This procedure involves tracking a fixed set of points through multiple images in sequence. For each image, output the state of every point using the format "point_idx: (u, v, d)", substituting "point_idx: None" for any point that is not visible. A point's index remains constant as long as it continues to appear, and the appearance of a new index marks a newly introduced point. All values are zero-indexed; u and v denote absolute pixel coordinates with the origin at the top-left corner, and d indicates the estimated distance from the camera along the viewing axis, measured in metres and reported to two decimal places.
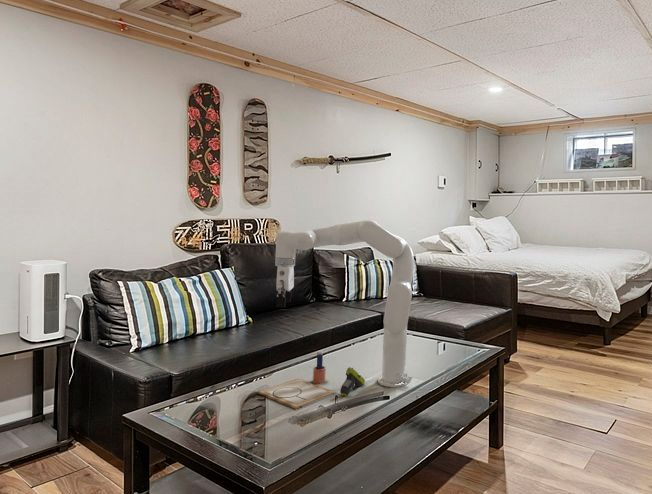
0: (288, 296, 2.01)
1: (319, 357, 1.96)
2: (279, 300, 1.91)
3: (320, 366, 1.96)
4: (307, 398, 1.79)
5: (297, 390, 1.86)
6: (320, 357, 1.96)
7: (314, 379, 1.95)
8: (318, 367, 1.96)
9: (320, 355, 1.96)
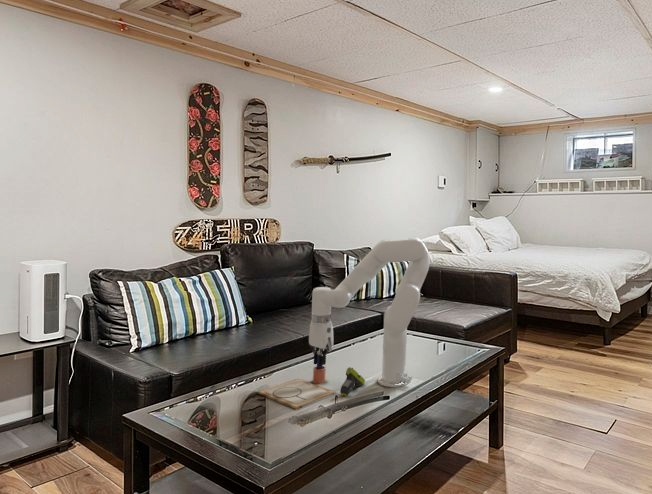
0: None
1: None
2: (323, 358, 1.96)
3: (320, 366, 1.96)
4: (307, 398, 1.79)
5: (297, 390, 1.86)
6: None
7: (314, 379, 1.95)
8: (318, 367, 1.96)
9: None
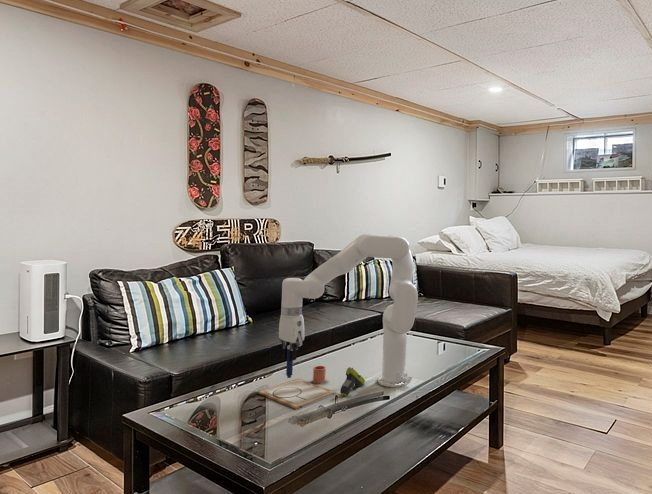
0: None
1: None
2: (293, 353, 1.84)
3: (290, 361, 1.85)
4: (307, 398, 1.79)
5: (297, 390, 1.86)
6: None
7: (314, 379, 1.95)
8: (288, 363, 1.85)
9: None
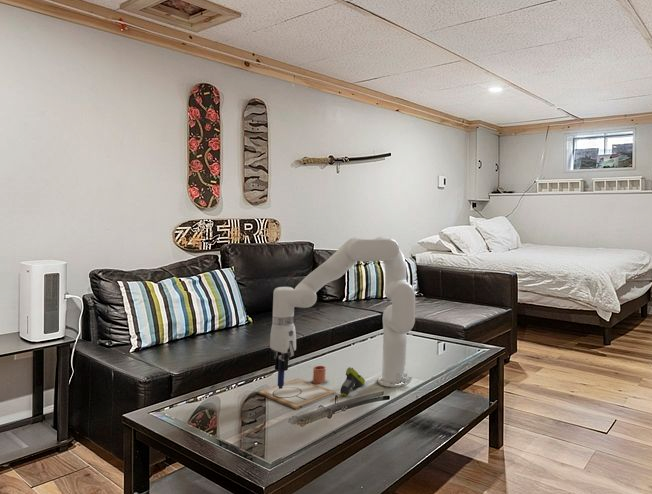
0: None
1: None
2: (284, 364, 1.81)
3: (282, 372, 1.82)
4: (307, 398, 1.79)
5: (297, 390, 1.86)
6: None
7: (314, 379, 1.95)
8: (279, 373, 1.82)
9: None
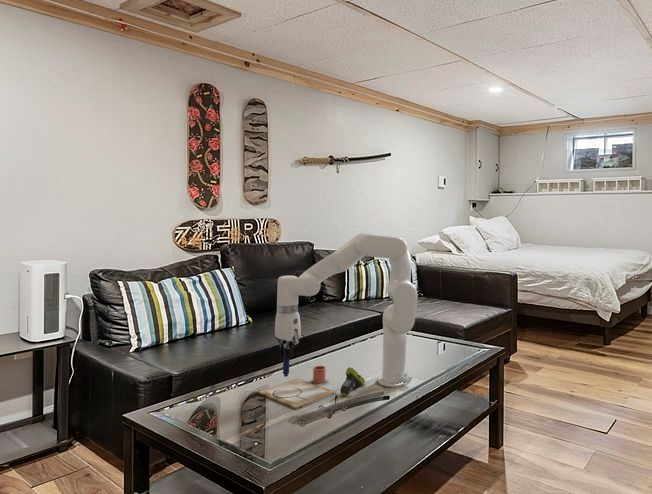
0: None
1: None
2: (289, 352, 1.83)
3: (287, 360, 1.83)
4: (307, 398, 1.79)
5: (297, 390, 1.86)
6: None
7: (314, 379, 1.95)
8: (285, 361, 1.83)
9: None
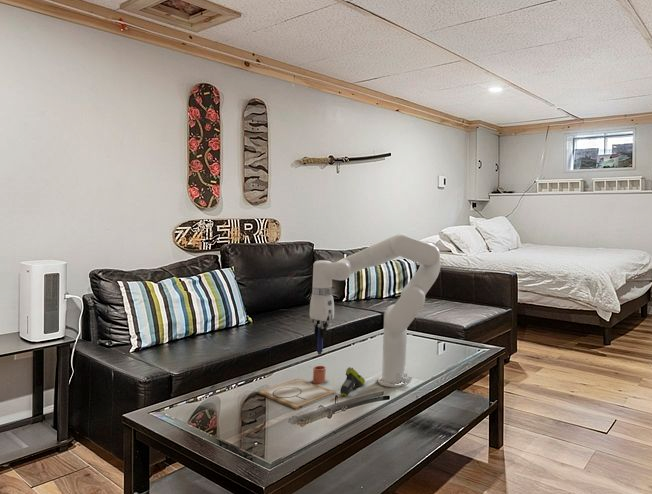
0: None
1: None
2: (323, 331, 1.95)
3: (321, 339, 1.96)
4: (307, 398, 1.79)
5: (297, 390, 1.86)
6: None
7: (314, 379, 1.95)
8: (319, 340, 1.96)
9: None
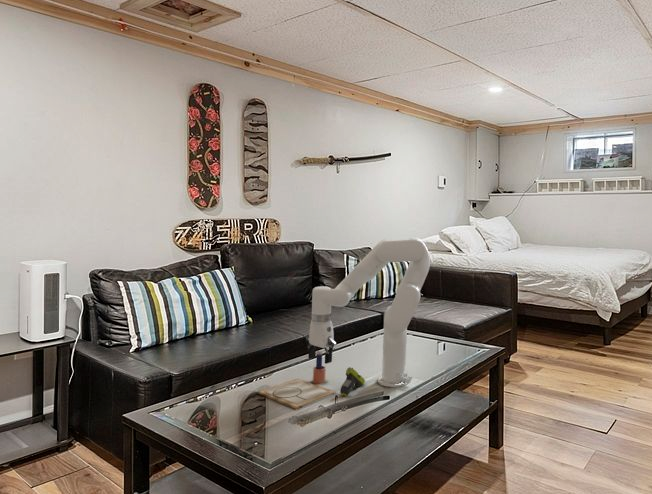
0: (314, 351, 2.00)
1: (318, 357, 1.96)
2: (329, 356, 1.94)
3: (319, 366, 1.96)
4: (307, 398, 1.79)
5: (297, 390, 1.86)
6: (319, 357, 1.96)
7: (314, 379, 1.95)
8: (317, 367, 1.96)
9: (319, 355, 1.96)
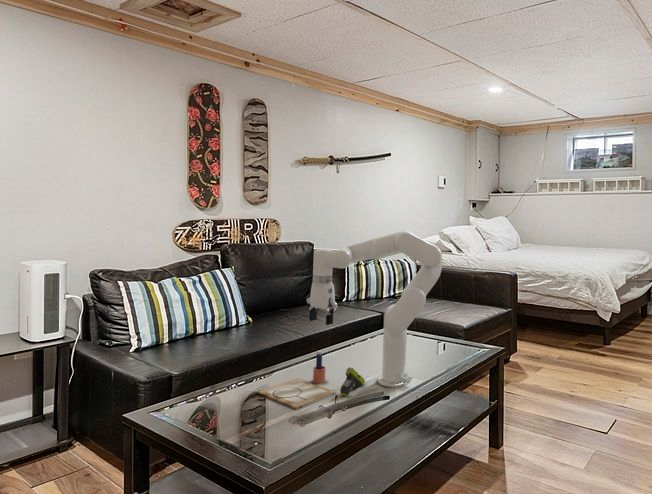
0: (315, 314, 2.00)
1: (318, 357, 1.96)
2: (330, 318, 1.93)
3: (319, 366, 1.96)
4: (307, 398, 1.79)
5: (297, 390, 1.86)
6: (319, 357, 1.96)
7: (314, 379, 1.95)
8: (317, 367, 1.96)
9: (319, 355, 1.96)
